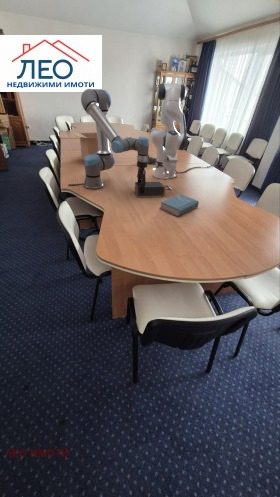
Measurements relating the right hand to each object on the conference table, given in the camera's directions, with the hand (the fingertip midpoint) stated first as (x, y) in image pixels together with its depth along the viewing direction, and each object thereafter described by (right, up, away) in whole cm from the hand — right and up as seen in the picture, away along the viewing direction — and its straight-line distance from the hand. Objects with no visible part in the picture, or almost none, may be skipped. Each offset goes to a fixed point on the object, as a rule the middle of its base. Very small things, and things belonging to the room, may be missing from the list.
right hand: (167, 175), depth 169 cm
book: (+7, -27, -12) cm, 31 cm away
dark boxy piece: (-14, -13, +6) cm, 20 cm away
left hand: (-21, -11, +2) cm, 23 cm away
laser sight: (-12, +38, +74) cm, 84 cm away
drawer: (-9, -12, +6) cm, 16 cm away
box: (-71, +38, +68) cm, 105 cm away
